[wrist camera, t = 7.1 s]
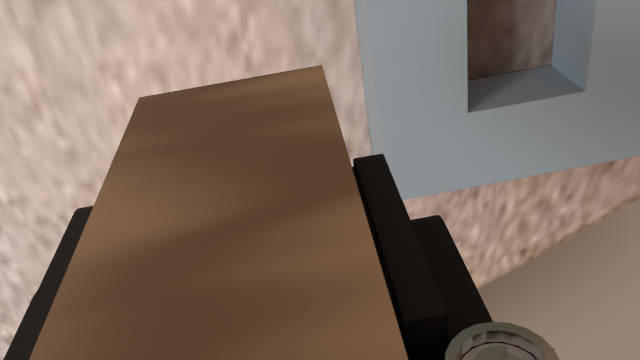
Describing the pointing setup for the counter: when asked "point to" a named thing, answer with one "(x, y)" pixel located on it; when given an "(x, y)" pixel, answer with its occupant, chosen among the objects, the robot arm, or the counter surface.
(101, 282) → the square bit
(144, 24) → the counter surface
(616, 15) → the socket block
